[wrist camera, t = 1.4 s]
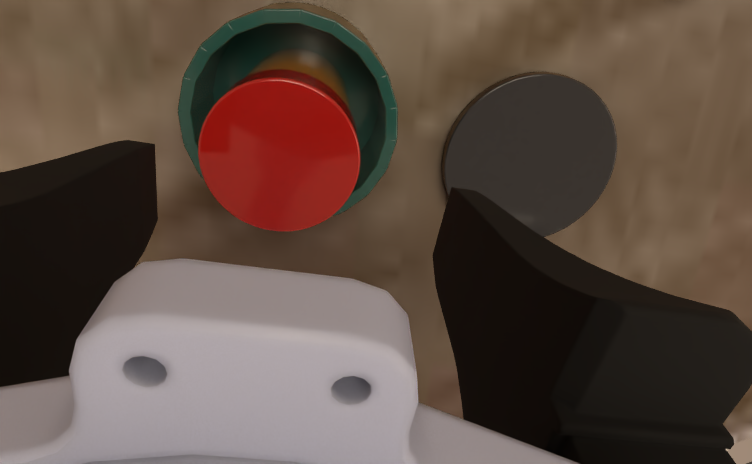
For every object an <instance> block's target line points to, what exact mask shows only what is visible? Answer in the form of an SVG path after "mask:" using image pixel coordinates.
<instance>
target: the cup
mask: <svg viewBox="0 0 752 464" xmlns="http://www.w3.org/2000/svg"><path fill="white" fill-rule="evenodd" d="M287 48H301V49H306V50H310V51H313V52H315V53H318V54H320V55H321V56H323V57H325V58H326V59H327V60H329V61H330V62H331V63H332V64H333V65H334V66H335V67H336V68H337V70H338V71H339V72H340V74H341V75H342V77H343V79H344V81H345V83H346V86H347V89H348V93H349V100H350V109H351V114H352V117H353V119H354V121H355V124H356V128H357V132H358V139H359V146H360V154H361V164H360V171H359V176H358V179H357V183H356V185H355V188H354V190H353V192H352V194H351V195H350V197H349V199H348V200H347V201H346V203H345V204H344V205H343V206H342V207H341V208H340V209H339V210H338V211H337V212H336V213H335V214H334V215H337V214H340V213H342V212H344V211H346V210H347V209H349V208H350V207H351V206H353V205H354V204H356V203H357V202H359V201H360V200H361V199H363V198H364V197H366V196H367V194H369V193H370V192H371V190H372V189H373V188H374V186H375V185H376V184H377V182H378V181H379V180H380V178H381V177H382V176H383V174H384V173H385V172H386V170H387V168H388V165H389V162H390V159H391V156H392V154H393V151H394V148H395V145H396V142H397V125H398V108H397V103H396V99H395V96H394V93H393V89H392V86H391V83H390V80H389V76H388V74H387V72H386V70H385V68H384V66H383V64H382V62H381V60H380V58H379V56H378V55H377V54H376V52H375V51H374V49H373V48H372V46H371V45H370V43H369V42H368V41H367V39H366V38H365V36H364V35H363V34H362V33H361V31H359V30H358V29H357V28H356V27H354V26H353V25H352V24H351V23H350V22H348V21H347V20H346V19H344V18H342V17H341V16H340V15H338V14H336V13H334V12H332V11H329V10H327V9H325V8H322V7H319V6H315V5H312V4H308V3H296V2H285V3H275V4H274V3H273V4H270V5H267V6H265V7H261V8H259V9H256V10H254V11H251V12H248V13H246V14H243V15H241V16H239V17H237V18H235V19H233V20H230V21H229V22H227V23H226V24H224V25H223V26H222V27H221V28H220V29H219V30H217V31H216V32H215V33H214V34H213V35H212V36H210V37H209V38H208V39H207V40H206V41H204V42H203V43H202V44H201V46H200V47H199V48H198V50H197V52H196V54H195V56H194V57H193V59H192V61H191V63H190V65H189V66H188V68H187V70H186V72H185V74H184V77H183V80H182V86H181V93H180V99H179V105H178V110H179V111H178V115H179V121H180V127H181V133H182V139H183V143H184V146H185V148H186V150H187V152H188V154H189V156H190V158H191V160H192V162H193V164H194V166H195V168H196V170H197V171H198V173H199V174H200V176H201V177H202V178H203V175H202V172H201V169H200V165H199V158H198V142H199V135H200V131H201V128H202V125H203V122H204V120H205V118H206V116H207V114H208V113H209V111H210V110H211V108H212V107H213V106H214V104H215V103H216V102H217V101H218V100H219V99H220V98H221V97H222V95H223V94H224V93H225V92H226V91H227V90H228V89H229V88H230V87H231V86H233V85H234V84H235V83H236V82H238V81H240V80H241V79H243V78H245V77H246V76H247V75H248V74H249V72H250V71H251V70H252V69H253V68H254V67H255V65H256V64H257V63H258V62H259V61H260V60H262V59H263V58H264V57H266V56H267V55H269V54H271V53H273V52H275V51H278V50H282V49H287ZM203 179H204V178H203ZM334 215H332V216H334Z"/></svg>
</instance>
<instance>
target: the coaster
mask: <svg viewBox="0 0 752 464" xmlns="http://www.w3.org/2000/svg"><path fill="white" fill-rule="evenodd" d="M616 152H617V136H616V130H615V125H614V122H613V119H612V116H611V114H610V112H609V110H608V108H607V106H606V105H605V103H604V102H603V101H602V99H601V98H600V97H599V96H598V95H597V94H596V93H595V92H594V91H593V90H592V89H590V88H589V87H587V86H586V85H584V84H583V83H581V82H579V81H577V80H575V79H572V78H570V77H568V76H564V75H561V74H557V73H550V72H530V73H523V74H519V75H515V76H512V77H509V78H506V79H504V80H502V81H499V82H497V83H496V84H494V85H492V86H490V87H488V88H487V89H486V90H484V91H483V92H482V93H480V94H479V95H478V96H477V97H475V98H474V99H473V100H472V101H471V102H470V103H469V104H468V105H467V106H466V108H465V109H464V110H463V111H462V112H461V114H460V115H459V117H458V118H457V120H456V121H455V123H454V125H453V127H452V129H451V131H450V133H449V135H448V138H447V141H446V144H445V148H444V153H443V161H442V173H443V181H444V186H445V189H446V192H447V195H448V197H449V194H450V190H451V187H454V188H461V189H468V190H475V191H477V192H479V193H481V194H483V195H484V196H486V197H487V198H489V199H490V200H492V201H493V202H494V203H496V204H497V205H498V206H500V207H501V208H503V209H504V210H505V211H507V212H508V213H509V214H511V215H512V216H513V217H515V218H516V219H518V220H519V221H520V222H522V223H523V224H525V225H526V226H527V227H529V228H530V229H532V230H533V231H535V232H536V233H538V234H539V235H541V236H542V237H546V236H548V235H551V234H554V233H556V232H558V231H560V230H562V229H564V228H566V227H567V226H569V225H571V224H572V223H574V222H575V221H576V220H578V219H579V218H580V217H581V216H583V215H584V214H585V213H586V212H587V211H588V210H589V209H590V208H591V207H592V206H593V204H594V203H595V202H596V201H597V200H598V198H599V197H600V195H601V194H602V192H603V191H604V189H605V187H606V185H607V183H608V181H609V179H610V177H611V174H612V171H613V168H614V164H615V160H616Z"/></svg>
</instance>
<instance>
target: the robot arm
mask: <svg viewBox="0 0 752 464" xmlns="http://www.w3.org/2000/svg"><path fill="white" fill-rule="evenodd" d="M157 220H158V216H157V190H156V164H155V144H150V143H143V142H136V141H130V140H125V141H118V142H113V143H109V144H105V145H102V146H98V147H95V148H91V149H88V150H85V151H81V152H78V153H75V154H71V155H68V156H65V157H61V158H58V159H54V160H50V161H46V162H42V163H39V164H35V165H31V166H27V167H23V168H19V169H15V170H11V171H6V172H1V173H0V464H736V463H735V462H734V460H733V459H732V458H731V456H730V455H729V453H728V452H727V451H726V449H731V447H732V446H733V445H734V439H733V437H732V436H731V435H730V433H729V432H728V431H727V429H726V428H725V427H724V425H723V422H724V421H725V420H726V418H727V417H728V416H729V414H730V413H731V412H732V410H733V409H734V408H735V406H736V405H737V404H738V402H739V401H740V400H741V398H742V397H743V396H744V395H745V393H746V392H747V391H748V389H749V388H750V386H751V384H752V331H751V330H750V329H749V328H748V327H747V326H746V325H745V324H744V323H743V322H742V321H741V320H740V319H739V318H738V317H737V316H736V315H735V314H734V313H733V312H731V311H729V310H726V309H722V308H719V307H715V306H711V305H707V304H703V303H700V302H696V301H692V300H688V299H684V298H681V297H677V296H674V295H670V294H667V293H664V292H661V291H658V290H655V289H652V288H649V287H646V286H643V285H641V284H638V283H635V282H633V281H630V280H627V279H625V278H622V277H620V276H618V275H615V274H613V273H611V272H608V271H606V270H603V269H601V268H599V267H597V266H595V265H592V264H590V263H588V262H586V261H584V260H582V259H580V258H579V257H577V256H575V255H573V254H571V253H569V252H567V251H565V250H564V249H562V248H560V247H558V246H557V245H555V244H553V243H552V242H550V241H549V240H547V239H546V238H544V237H542V236H541V235H539V234H538V233H536V232H535V231H533V230H532V229H530V228H529V227H527V226H526V225H525V224H523V223H522V222H520V221H519V220H518V219H516V218H515V217H513V216H512V215H511V214H509V213H508V212H507V211H505V210H504V209H503V208H501V207H500V206H498V205H497V204H496V203H494V202H493V201H492V200H490V199H489V198H487V197H486V196H484V195H483V194H481V193H479V192H477V191H475V190H468V189H461V188H454V187H451V190H450V194H449V198H448V201H447V205H446V208H445V212H444V216H443V219H442V223H441V227H440V230H439V234H438V238H437V241H436V245H435V248H434V252H433V264H434V275H435V284H436V289H437V293H438V297H439V301H440V305H441V308H442V312H443V316H444V319H445V323H446V327H447V330H448V334H449V338H450V342H451V345H452V349H453V353H454V357H455V362H456V366H457V372H458V379H459V386H460V393H461V400H462V409H463V417H464V419H461V418H458V417H456V416H453V415H451V414H448V413H445V412H443V411H440V410H437V409H435V408H432V407H429V406H427V405H424V404H422V403H419V402H418V387H417V372H416V366H415V359H414V352H413V346H412V339H411V332H410V326H409V319H408V314H407V313H406V312H405V311H404V310H403V308H402V307H401V306H400V305H399V304H398V303H397V302H396V300H395V299H394V298H393V297H392V296H391V295H390V294H389V292H388V291H386V290H384V289H381V288H378V287H375V286H372V285H369V284H366V283H364V282H361V281H358V280H355V279H352V278H344V277H336V276H328V275H319V274H311V273H302V272H294V271H285V270H277V269H269V268H260V267H252V266H243V265H235V264H227V263H218V262H210V261H201V260H193V259H185V258H180V259H170V260H160V261H149V262H142V263H141V264H139V265H138V266H136V267H135V265H136V263H137V262H138V260H139V259H140V257H141V256H142V254H143V252H144V251H145V248H146V246H147V244H148V242H149V240H150V237H151V235H152V232H153V230H154V228H155V225H156V223H157ZM134 267H135V268H134ZM133 268H134V269H133ZM747 464H752V462H749V463H747Z"/></svg>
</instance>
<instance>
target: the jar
mask: <svg viewBox="0 0 752 464" xmlns="http://www.w3.org/2000/svg"><path fill="white" fill-rule="evenodd" d="M198 158H199V165H200V169H201V172H202V175H203V178H204V180H205V182H206V185H207V186H208V188H209V190H210V191H211V193H212V194H213V196H214V197H215V198H216V200H217V201H218V202H219V203H220V204H221V205H222V206H223V207H224V208H225V209H226V210H227V211H228V212H230V213H231V214H232V215H233V216H235V217H237V218H238V219H240V220H242V221H243V222H246V223H248V224H250V225H252V226H255V227H258V228H261V229H266V230H271V231H296V230H302V229H306V228H309V227H312V226H315V225H317V224H319V223H321V222H323V221H325V220H327V219H328V218H330V217H331V216H332V215H334V214H335V213H336V212H337V211H338V210H339V209H340V208H341V207H342V206H343V205H344V204H345V203H346V201H347V200H348V199H349V197H350V195H351V194H352V192H353V190H354V188H355V185H356V183H357V179H358V176H359V171H360V164H361V154H360V146H359V139H358V132H357V128H356V124H355V121H354V119H353V117H352V114H351V109H350V100H349V93H348V89H347V86H346V83H345V81H344V79H343V77H342V75H341V74H340V72H339V71H338V70H337V68H336V67H335V66H334V65H333V64H332V63H331V62H330V61H329V60H327V59H326V58H325V57H323V56H321V55H320V54H318V53H315V52H313V51H310V50H306V49H301V48H287V49H282V50H278V51H275V52H273V53H271V54H269V55H267V56H266V57H264V58H263V59H262V60H260V61H259V62H258V63H257V64H256V65H255V67H254V68H253V69H252V70H251V71H250V72H249V74H248V75H247V76H246V77H245V78H243V79H241V80H240V81H238V82H236V83H235V84H234V85H233V86H231V87H230V88H229V89H228V90H227V91H226V92H225V93H224V94H223V95H222V97H221V98H220V99H219V100H218V101H217V102H216V103H215V104H214V106H213V107H212V108H211V110H210V111H209V113H208V114H207V116H206V118H205V120H204V122H203V125H202V128H201V131H200V135H199V142H198Z"/></svg>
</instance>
